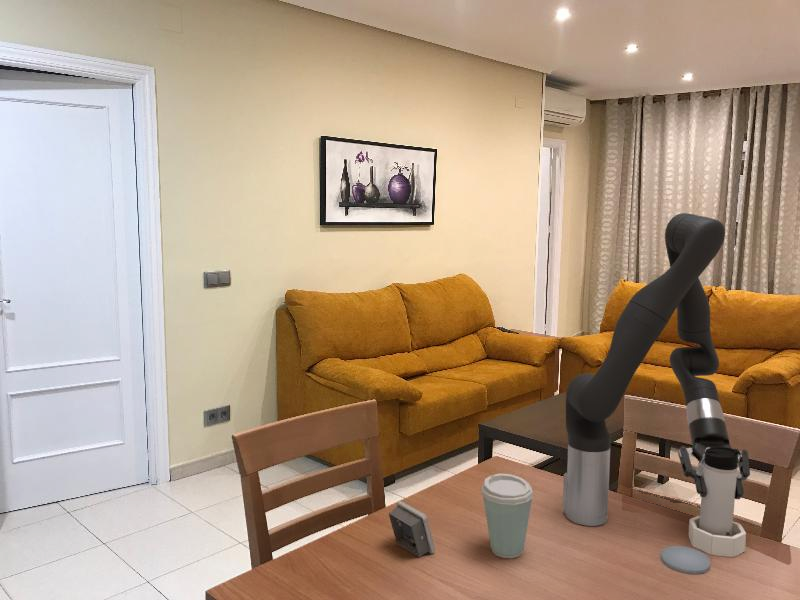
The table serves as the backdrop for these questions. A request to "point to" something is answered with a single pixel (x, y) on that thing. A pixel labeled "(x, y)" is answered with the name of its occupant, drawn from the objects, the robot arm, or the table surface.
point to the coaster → (685, 559)
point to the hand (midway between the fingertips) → (721, 496)
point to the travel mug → (719, 491)
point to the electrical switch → (411, 529)
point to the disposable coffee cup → (507, 513)
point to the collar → (717, 540)
